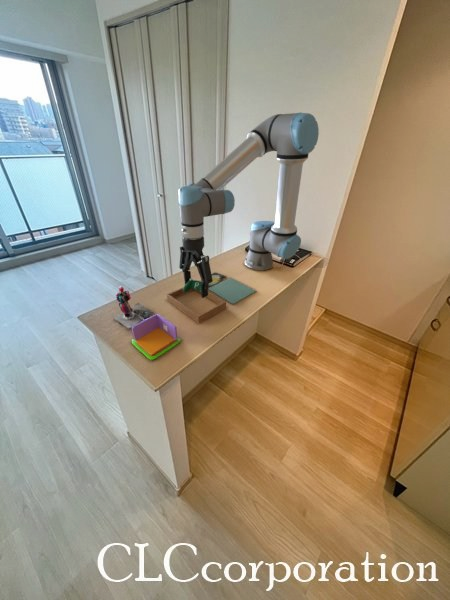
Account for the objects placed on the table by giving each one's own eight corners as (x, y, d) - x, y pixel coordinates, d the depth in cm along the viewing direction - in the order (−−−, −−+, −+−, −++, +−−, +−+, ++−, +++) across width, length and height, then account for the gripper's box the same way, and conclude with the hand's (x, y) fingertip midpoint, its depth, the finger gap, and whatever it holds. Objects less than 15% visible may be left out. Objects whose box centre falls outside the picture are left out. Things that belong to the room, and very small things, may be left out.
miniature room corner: (160, 325, 86) (158, 310, 82) (182, 341, 80) (180, 325, 76) (130, 342, 78) (126, 326, 74) (151, 361, 72) (148, 345, 68)
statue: (130, 332, 84) (116, 300, 74) (115, 321, 89) (100, 289, 79) (154, 314, 91) (144, 283, 81) (139, 305, 95) (127, 274, 85)
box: (194, 288, 108) (194, 282, 106) (226, 307, 96) (226, 301, 94) (167, 300, 99) (166, 294, 97) (198, 323, 87) (198, 317, 86)
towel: (230, 278, 116) (230, 277, 116) (256, 291, 107) (256, 290, 107) (207, 289, 107) (207, 288, 107) (233, 304, 98) (233, 303, 98)
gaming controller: (206, 297, 94) (210, 283, 95) (203, 295, 90) (207, 280, 91) (185, 293, 96) (189, 279, 97) (181, 291, 93) (185, 276, 93)
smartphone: (195, 284, 110) (214, 272, 120) (195, 285, 110) (214, 273, 120) (207, 289, 107) (226, 276, 117) (207, 290, 107) (226, 277, 117)
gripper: (165, 230, 85) (172, 283, 98) (206, 248, 73) (207, 307, 85) (182, 226, 90) (186, 277, 103) (223, 242, 77) (222, 299, 90)
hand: (196, 291), depth 94 cm, fingers closed on gaming controller, 10 cm apart
